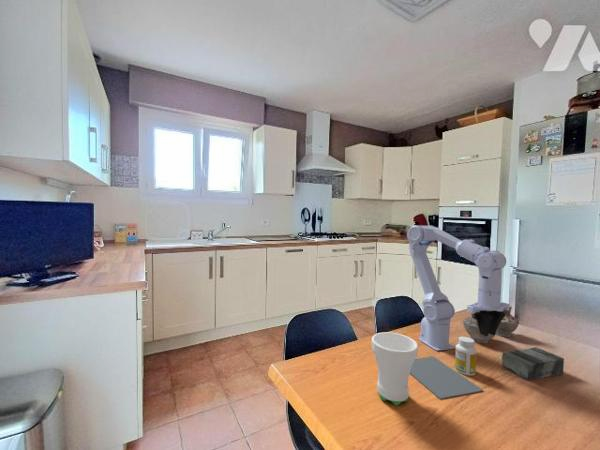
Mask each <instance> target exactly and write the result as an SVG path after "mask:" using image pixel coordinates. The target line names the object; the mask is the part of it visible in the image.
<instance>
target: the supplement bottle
mask: <svg viewBox="0 0 600 450" xmlns="http://www.w3.org/2000/svg"><path fill="white" fill-rule="evenodd" d="M454 357H455V358H454V360H455V361H454V369H455V371H456V372H457V373H459V374H460V375H463V376H469V377H470V376H475V375H476V374H477V348H476V347H475V341H474V340H473V339H471V337H468V336H459V337H458V343H456V345H455V356H454Z"/></svg>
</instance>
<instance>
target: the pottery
mask: <svg viewBox="0 0 600 450" xmlns="http://www.w3.org/2000/svg"><path fill="white" fill-rule="evenodd" d="M512 307H513V306H512V305H510V310H508V311H507V310H503V311H501V312H503V313H505V317H504V318H503V319H502V321H501V322H500V324H499V326H498V328H497V331H496V333H495V335H491V334H488V336H484V335H482V334H480V331H479V327H478V323H477V320H476V318H475V316H474V314H472V313H470V314H471V316H470V317H466V318H465V319H463V320H462V324H463V325H462V326H463V328H464V329H465V331H466V333H467V334H468V335H469V336H470V338H471V339H473V340H474V343H479V344H488V343H489V341H490V340H492V339H493V338H494V337H495V336H499V337H503V338H511V337H512V333H514V332H515V331H516V330H517V328H518V327H519V324H520V321H519V320H518V319H517V317H515V316H514V315H512V314H511V311H512Z"/></svg>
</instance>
